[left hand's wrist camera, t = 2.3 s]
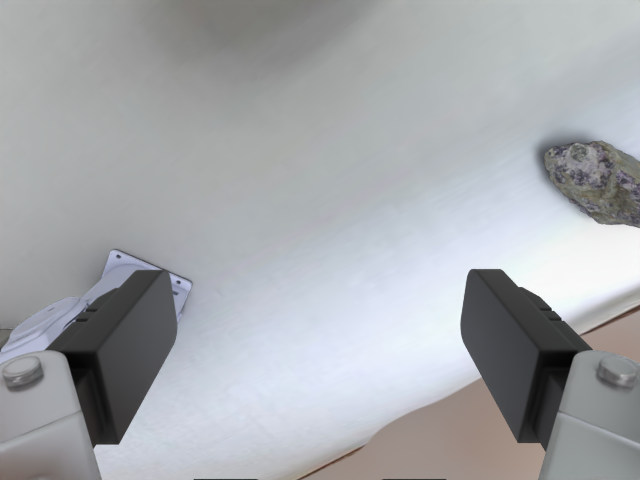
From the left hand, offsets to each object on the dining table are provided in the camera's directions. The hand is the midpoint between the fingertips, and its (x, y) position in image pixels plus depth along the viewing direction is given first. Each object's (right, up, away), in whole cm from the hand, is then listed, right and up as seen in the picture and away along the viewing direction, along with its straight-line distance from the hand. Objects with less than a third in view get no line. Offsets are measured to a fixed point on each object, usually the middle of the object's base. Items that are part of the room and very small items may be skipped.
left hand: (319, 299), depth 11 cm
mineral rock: (+29, +9, +31) cm, 44 cm away
